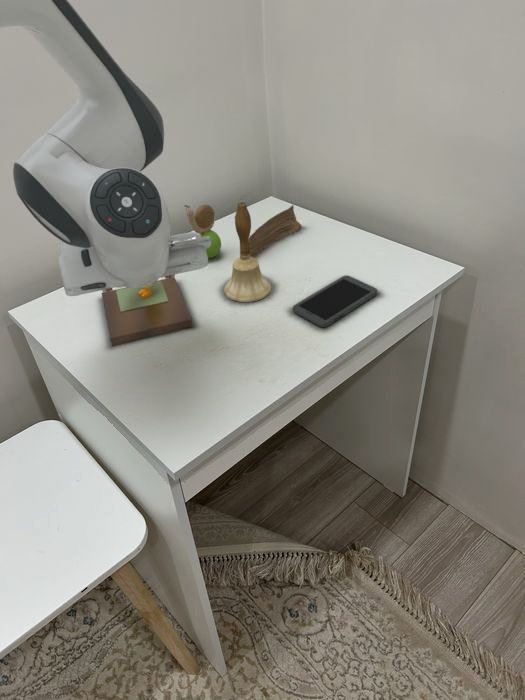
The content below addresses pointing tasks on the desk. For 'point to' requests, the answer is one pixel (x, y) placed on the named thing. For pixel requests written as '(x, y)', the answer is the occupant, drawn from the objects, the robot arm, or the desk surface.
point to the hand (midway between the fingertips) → (138, 279)
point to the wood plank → (273, 230)
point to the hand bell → (246, 265)
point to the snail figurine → (205, 227)
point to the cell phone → (334, 301)
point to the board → (145, 311)
